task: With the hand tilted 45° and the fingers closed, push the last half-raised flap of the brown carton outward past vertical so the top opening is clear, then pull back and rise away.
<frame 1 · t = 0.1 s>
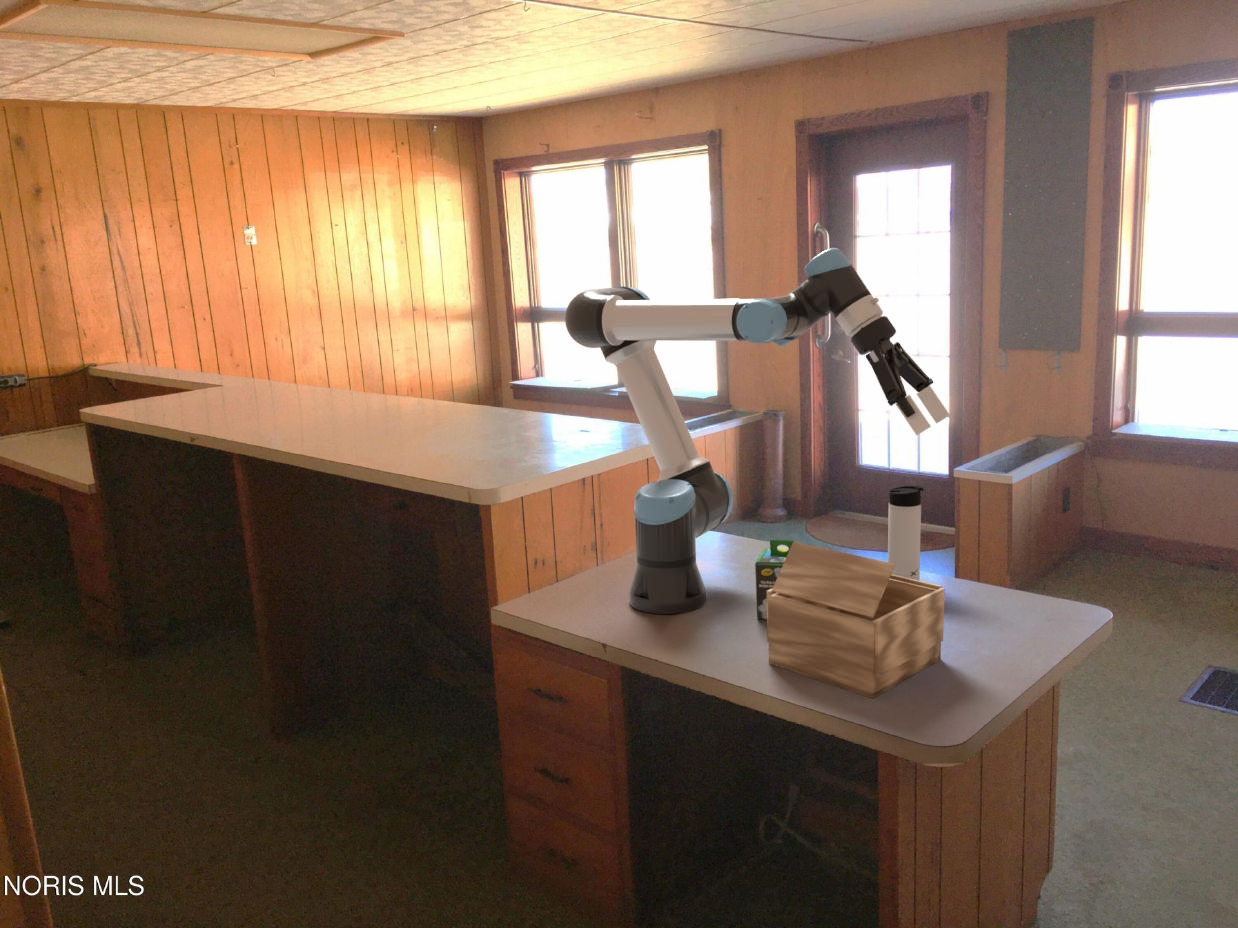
hand: (934, 425, 176), 36 cm above the worktop, tool tilted 35°, fingers open, 13 cm apart
medicine box: (791, 589, 202), on the worktop
travel mug: (904, 583, 203), on the worktop
chalk box: (784, 614, 189), on the worktop
carton: (854, 661, 166), on the worktop
carton flap: (831, 577, 158), point 16 cm above the worktop, hinge at -40.0°
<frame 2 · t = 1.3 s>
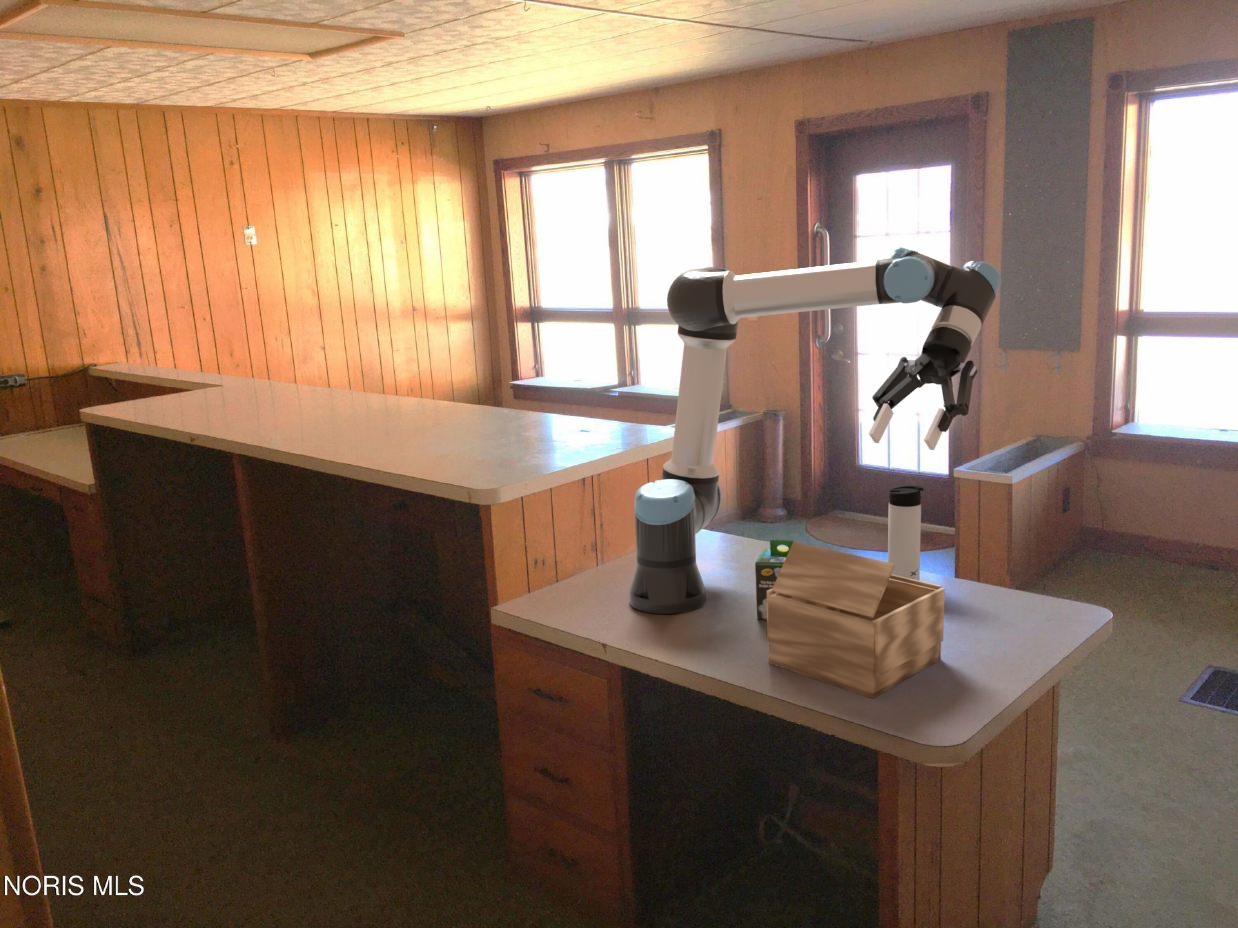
hand: (900, 441, 167), 35 cm above the worktop, tool tilted 45°, fingers open, 10 cm apart
nothing on the worktop moved.
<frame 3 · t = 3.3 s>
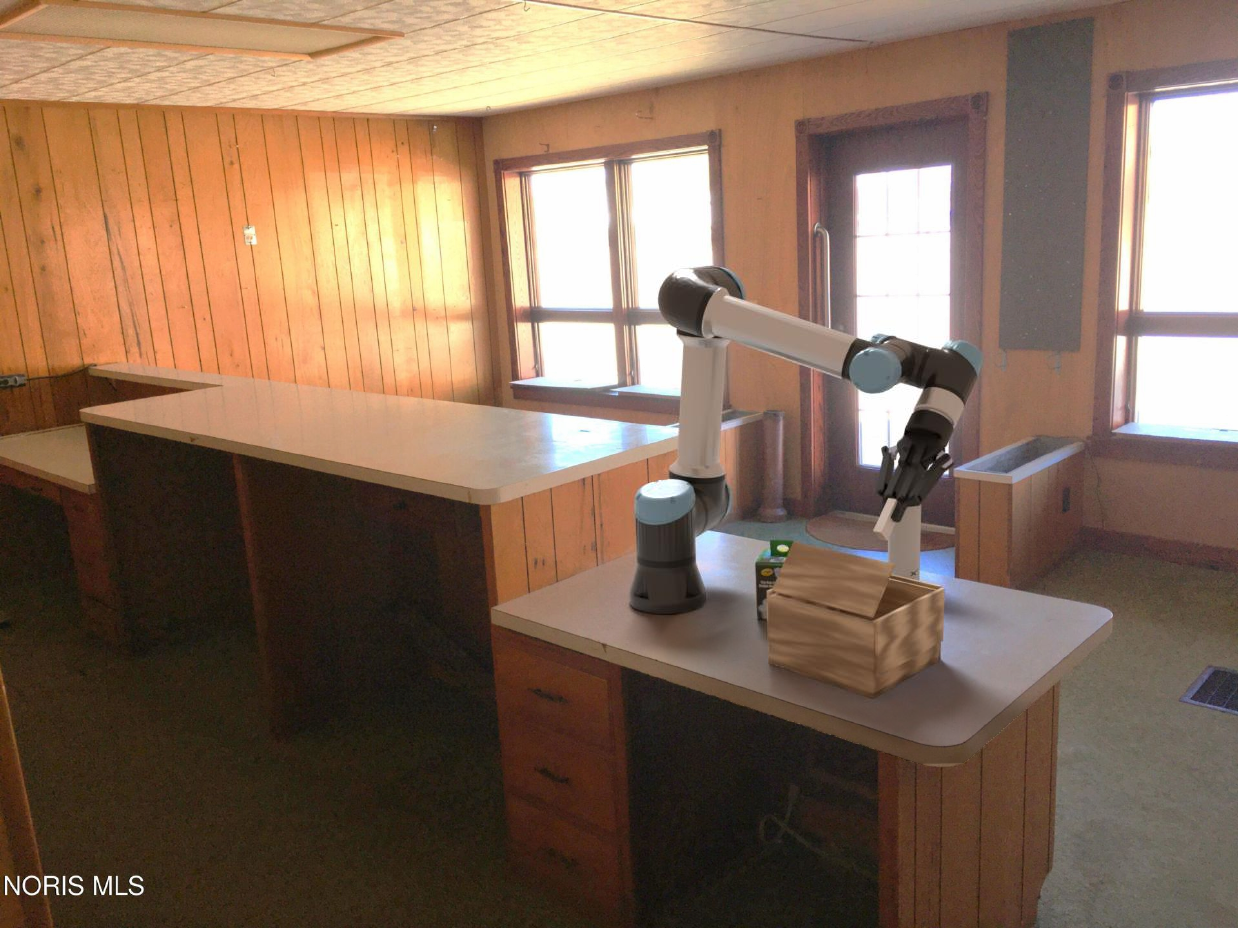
hand: (880, 535, 164), 21 cm above the worktop, tool tilted 45°, fingers closed
nothing on the worktop moved.
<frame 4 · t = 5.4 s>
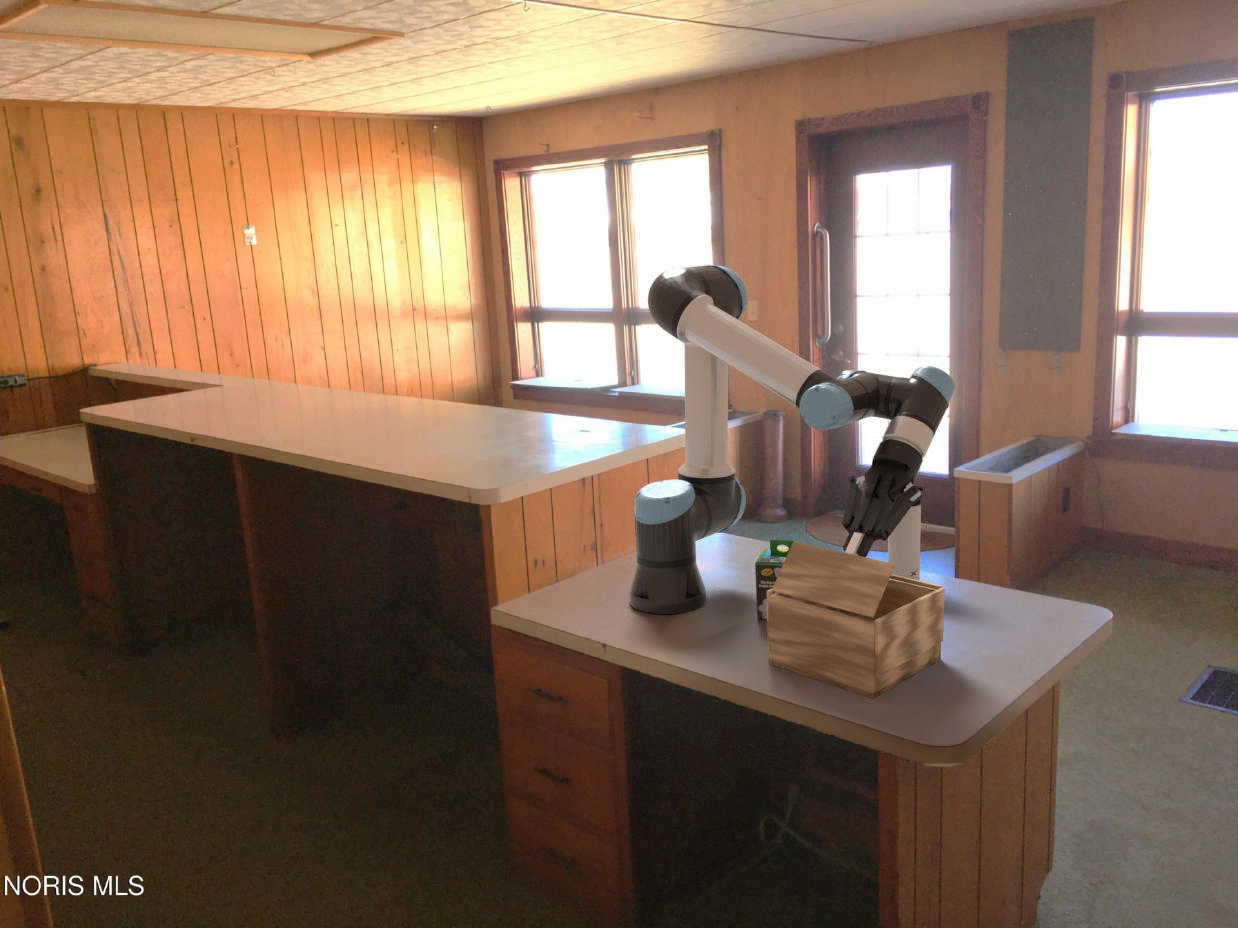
hand: (845, 571, 159), 17 cm above the worktop, tool tilted 45°, fingers closed
carton flap: (831, 577, 158), point 16 cm above the worktop, hinge at -39.7°, touching gripper
everything else where it was.
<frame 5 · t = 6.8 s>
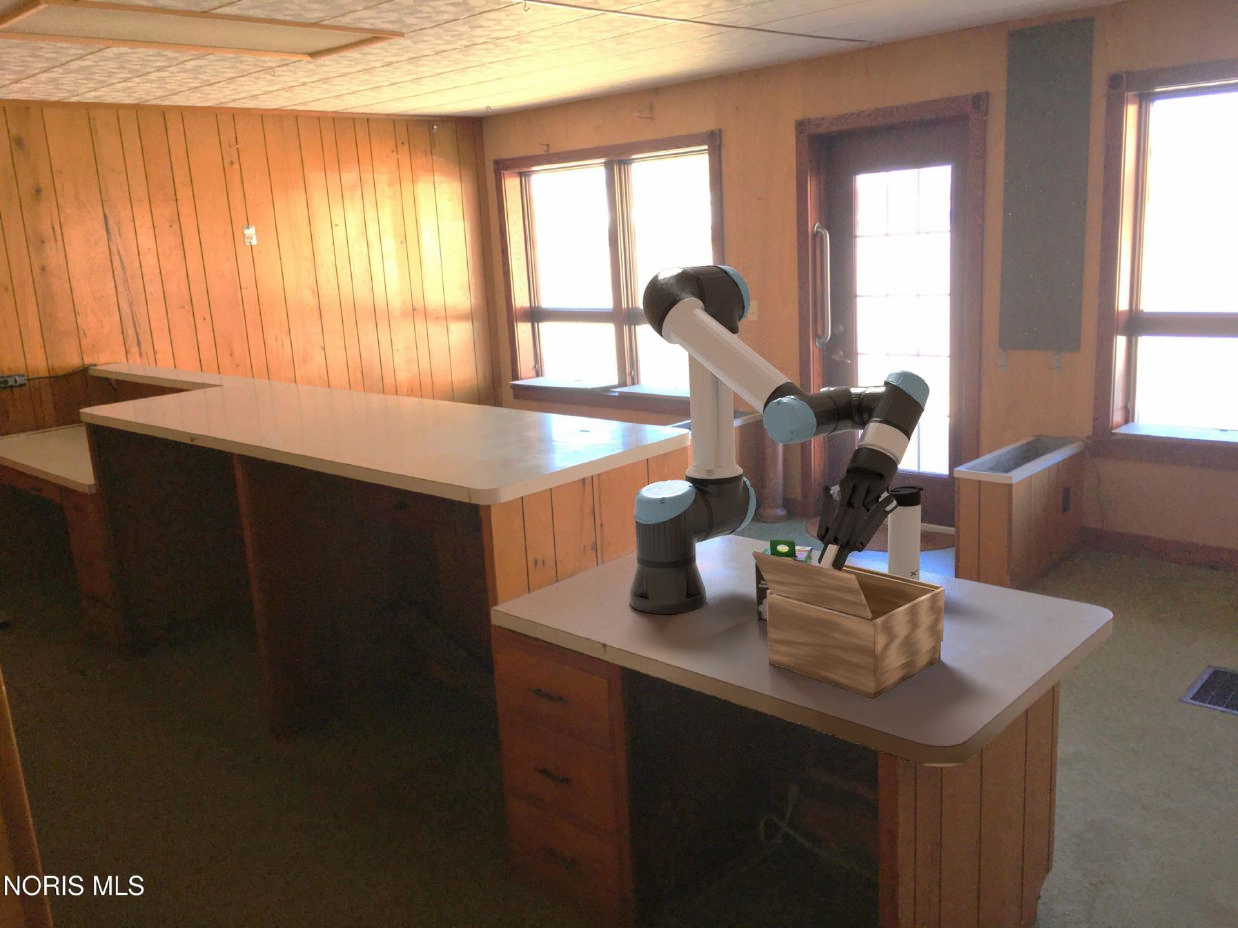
hand: (820, 585, 154), 16 cm above the worktop, tool tilted 45°, fingers closed
carton flap: (810, 584, 154), point 17 cm above the worktop, hinge at 31.4°, touching gripper
everything else where it was.
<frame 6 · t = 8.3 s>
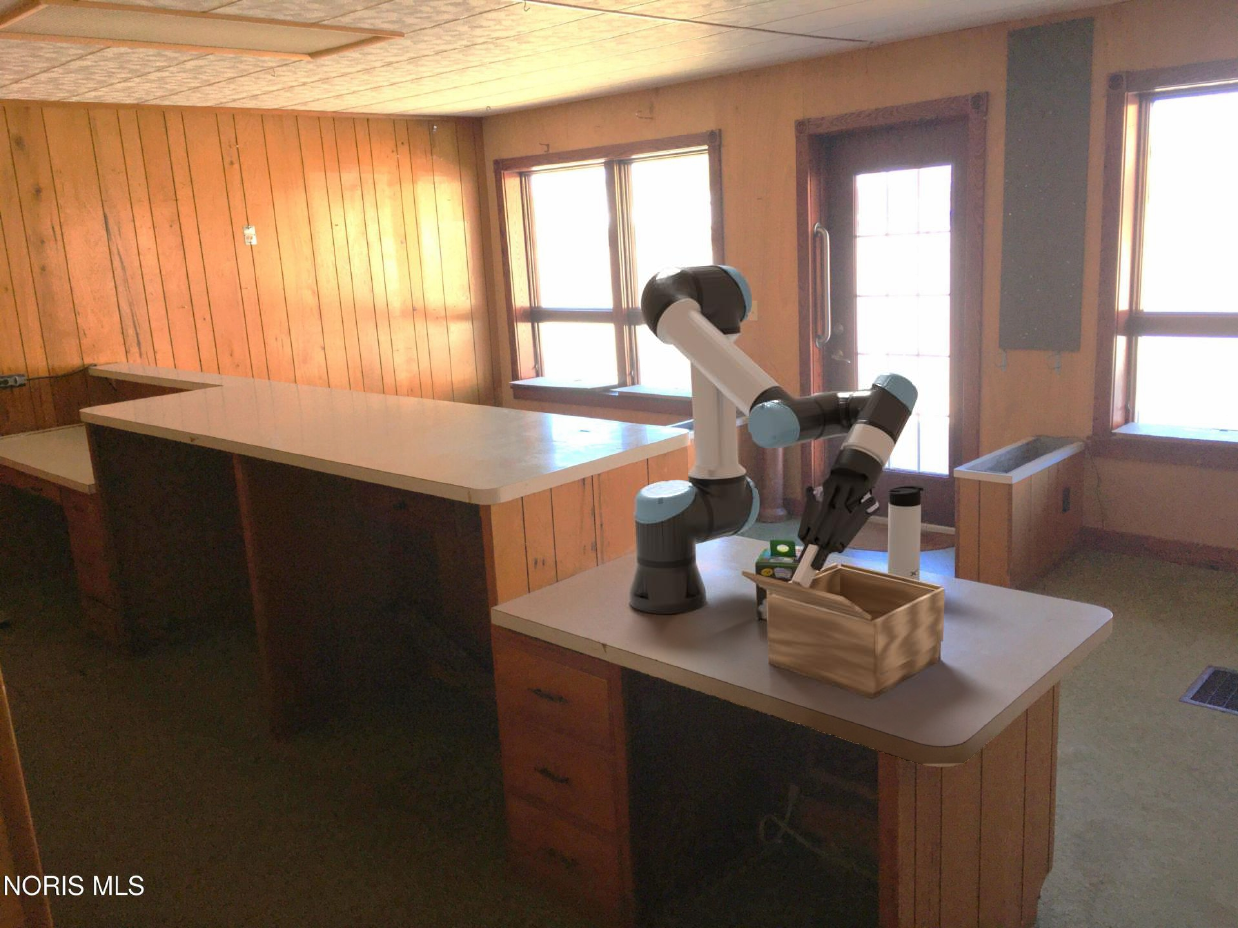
hand: (799, 585, 152), 17 cm above the worktop, tool tilted 45°, fingers closed
carton flap: (805, 594, 153), point 15 cm above the worktop, hinge at 55.5°, touching gripper
everything else where it was.
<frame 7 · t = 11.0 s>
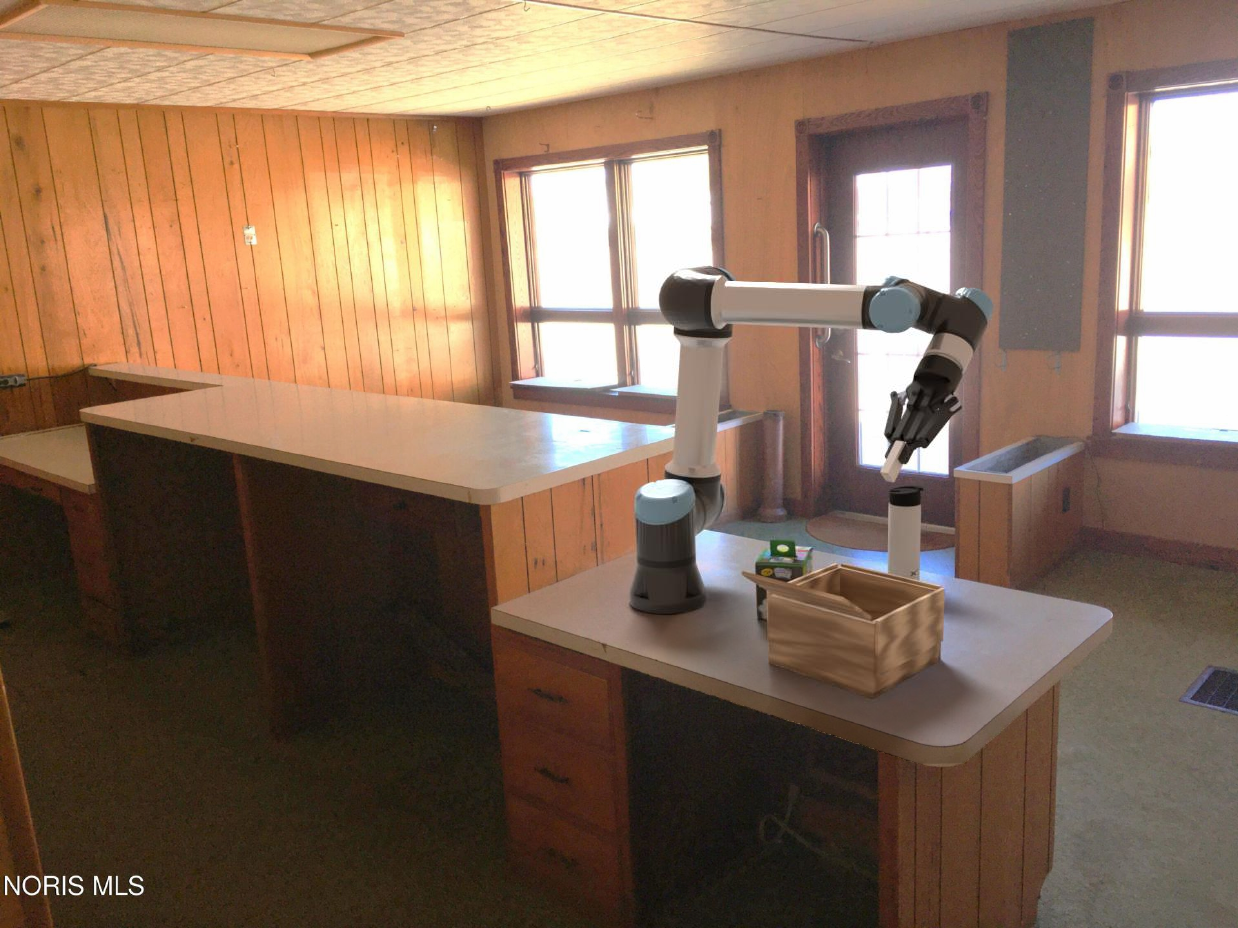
hand: (887, 477, 166), 30 cm above the worktop, tool tilted 45°, fingers closed
carton flap: (804, 594, 153), point 15 cm above the worktop, hinge at 55.7°
everything else where it was.
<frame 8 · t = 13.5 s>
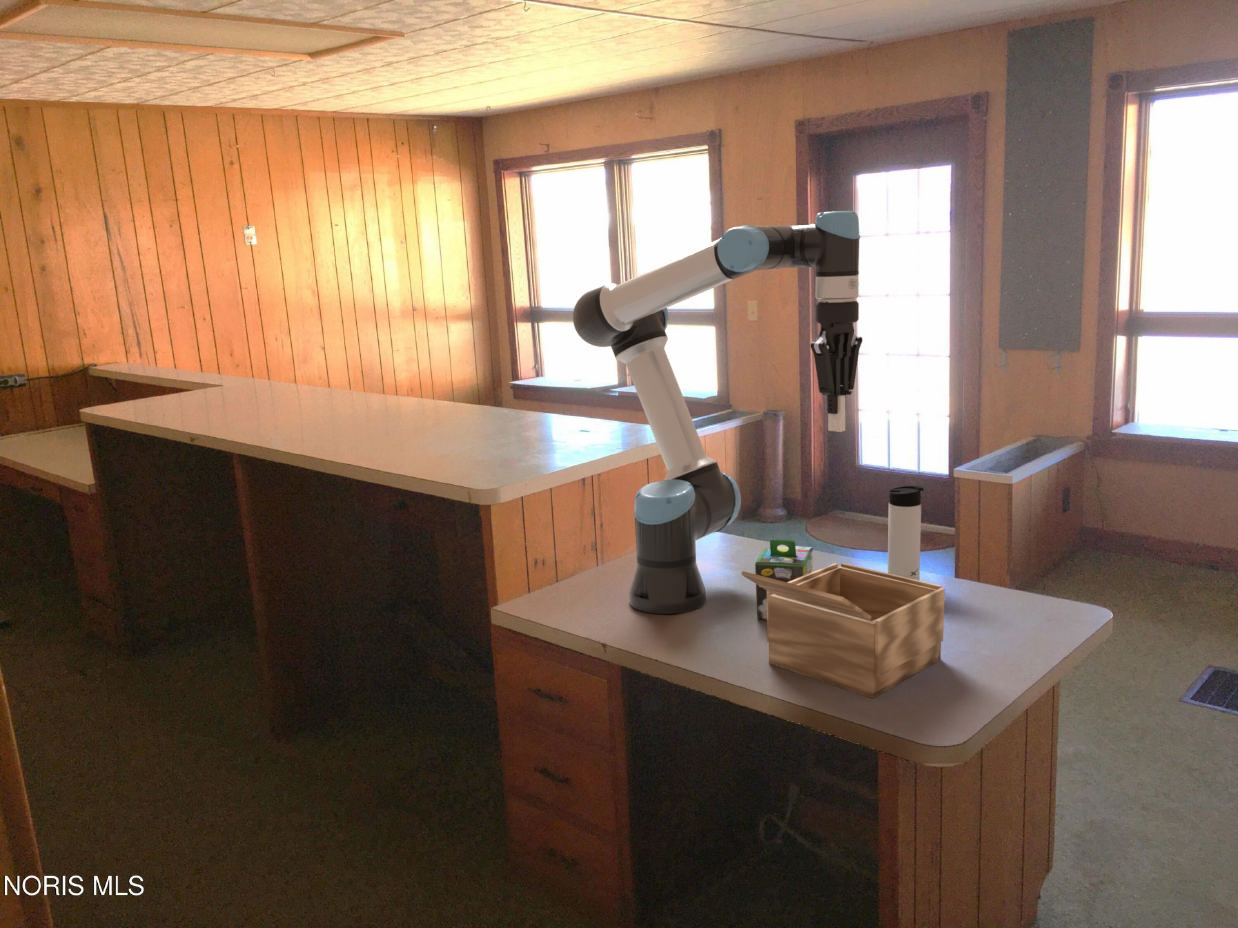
hand: (836, 430, 183), 34 cm above the worktop, tool pointing down, fingers closed
nothing on the worktop moved.
at the end: carton flap at +56° (first picture: -40°) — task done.
